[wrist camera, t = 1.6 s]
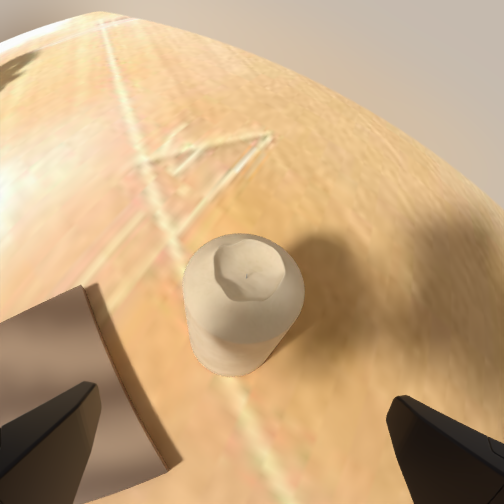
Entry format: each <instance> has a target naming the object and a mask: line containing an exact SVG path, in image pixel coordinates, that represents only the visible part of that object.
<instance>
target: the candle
mask: <svg viewBox="0 0 504 504" xmlns="http://www.w3.org/2000/svg"><path fill="white" fill-rule="evenodd" d="M182 286H183V298H184V305H185V312H186V319H187V325H188V332H189V338H190V343H191V347H192V350H193V353H194V355H195V357H196V358H197V360H198V361H199V362H200V363H201V364H202V365H203V366H204V367H205V368H206V369H208V370H209V371H211V372H213V373H215V374H217V375H220V376H225V377H239V376H243V375H246V374H249V373H251V372H253V371H255V370H256V369H257V368H259V367H260V366H261V365H262V364H263V363H264V361H265V360H266V359H267V358H268V356H269V355H270V354H271V352H272V351H273V350H274V349H275V347H276V346H277V345H278V343H279V342H280V341H281V339H282V338H283V337H284V335H285V334H286V333H287V331H288V330H289V329H290V327H291V326H292V325H293V323H294V322H295V321H296V319H297V318H298V316H299V314H300V312H301V309H302V306H303V303H304V297H305V288H304V281H303V277H302V274H301V271H300V269H299V267H298V265H297V264H296V262H295V261H294V259H293V258H292V257H291V256H290V255H289V254H288V252H286V251H285V250H284V249H283V248H282V247H280V246H279V245H277V244H276V243H274V242H272V241H270V240H268V239H266V238H263V237H260V236H257V235H252V234H241V233H240V234H229V235H224V236H221V237H218V238H215V239H213V240H211V241H209V242H208V243H206V244H205V245H203V246H202V247H200V248H199V249H198V250H197V251H196V252H195V254H194V255H193V256H192V257H191V259H190V261H189V262H188V264H187V267H186V269H185V272H184V276H183V285H182Z"/></svg>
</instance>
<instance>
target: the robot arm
mask: <svg viewBox="0 0 504 504" xmlns="http://www.w3.org/2000/svg"><path fill="white" fill-rule="evenodd" d="M101 409H102V404H101V398H100V393H99V387H98V385H97V384H96V383H94V382H89V381H83V382H81V383H79V384H77V385H75V386H74V387H72V388H70V389H68V390H66V391H65V392H63V393H61V394H59V395H57V396H56V397H54V398H52V399H50V400H48V401H47V402H45V403H43V404H41V405H39V406H38V407H36V408H34V409H32V410H30V411H28V412H26V413H25V414H23V415H21V416H19V417H17V418H15V419H14V420H12V421H10V422H8V423H6V424H4V425H2V426H1V428H0V504H73V503H74V500H75V497H76V494H77V491H78V488H79V485H80V482H81V479H82V476H83V474H84V471H85V468H86V465H87V463H88V460H89V457H90V454H91V451H92V447H93V443H94V439H95V434H96V430H97V426H98V422H99V418H100V414H101ZM386 422H387V426H388V430H389V433H390V437H391V440H392V444H393V448H394V451H395V455H396V458H397V461H398V464H399V466H400V469H401V471H402V474H403V476H404V479H405V481H406V484H407V487H408V489H409V492H410V495H411V497H412V500H413V502H414V504H504V444H503V443H501V442H499V441H497V440H494V439H492V438H490V437H487V436H486V435H484V434H482V433H480V432H478V431H476V430H474V429H472V428H470V427H468V426H466V425H464V424H462V423H460V422H458V421H456V420H454V419H452V418H450V417H448V416H446V415H444V414H442V413H440V412H438V411H436V410H434V409H432V408H430V407H428V406H427V405H425V404H423V403H421V402H419V401H417V400H415V399H413V398H411V397H410V396H407V395H402V396H397V397H395V398H394V399H393V402H392V404H391V406H390V409H389V411H388V413H387V417H386Z"/></svg>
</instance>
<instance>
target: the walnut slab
mask: <svg viewBox="0 0 504 504" xmlns="http://www.w3.org/2000/svg"><path fill="white" fill-rule="evenodd" d="M83 381H89V382H94V383H96V384H97V385H98V387H99V393H100V398H101V404H102V409H101V414H100V418H99V422H98V426H97V430H96V434H95V439H94V443H93V447H92V451H91V454H90V457H89V460H88V463H87V465H86V468H85V471H84V474H83V476H82V479H81V482H80V485H79V488H78V491H77V494H76V497H75V500H74V503H73V504H84V503H87V502H90V501H93V500H96V499H99V498H102V497H105V496H108V495H111V494H114V493H117V492H120V491H122V490H125V489H128V488H130V487H133V486H135V485H138V484H141V483H143V482H146V481H148V480H150V479H153V478H155V477H158V476H160V475H162V474H165V473H167V472H168V471H169V468H168V467H167V465H166V463H165V462H164V460H163V458H162V457H161V455H160V453H159V452H158V450H157V448H156V447H155V445H154V443H153V441H152V440H151V438H150V436H149V434H148V432H147V431H146V429H145V427H144V425H143V423H142V421H141V419H140V418H139V416H138V414H137V412H136V410H135V408H134V406H133V404H132V402H131V400H130V398H129V396H128V394H127V392H126V390H125V388H124V386H123V383H122V381H121V379H120V377H119V375H118V373H117V370H116V368H115V366H114V364H113V361H112V359H111V357H110V354H109V352H108V350H107V347H106V345H105V342H104V340H103V338H102V335H101V333H100V330H99V327H98V325H97V322H96V320H95V317H94V314H93V312H92V309H91V306H90V303H89V300H88V298H87V295H86V292H85V290H84V288H83V287H82V286H81V285H80V286H77V287H75V288H73V289H71V290H69V291H66V292H64V293H62V294H60V295H58V296H56V297H54V298H51V299H49V300H47V301H45V302H43V303H41V304H39V305H37V306H34V307H32V308H30V309H28V310H26V311H24V312H22V313H20V314H18V315H16V316H14V317H12V318H10V319H8V320H6V321H3V322H1V323H0V428H1V426H2V425H4V424H6V423H8V422H10V421H12V420H14V419H15V418H17V417H19V416H21V415H23V414H25V413H26V412H28V411H30V410H32V409H34V408H36V407H38V406H39V405H41V404H43V403H45V402H47V401H48V400H50V399H52V398H54V397H56V396H57V395H59V394H61V393H63V392H65V391H66V390H68V389H70V388H72V387H74V386H75V385H77V384H79V383H81V382H83Z"/></svg>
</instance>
